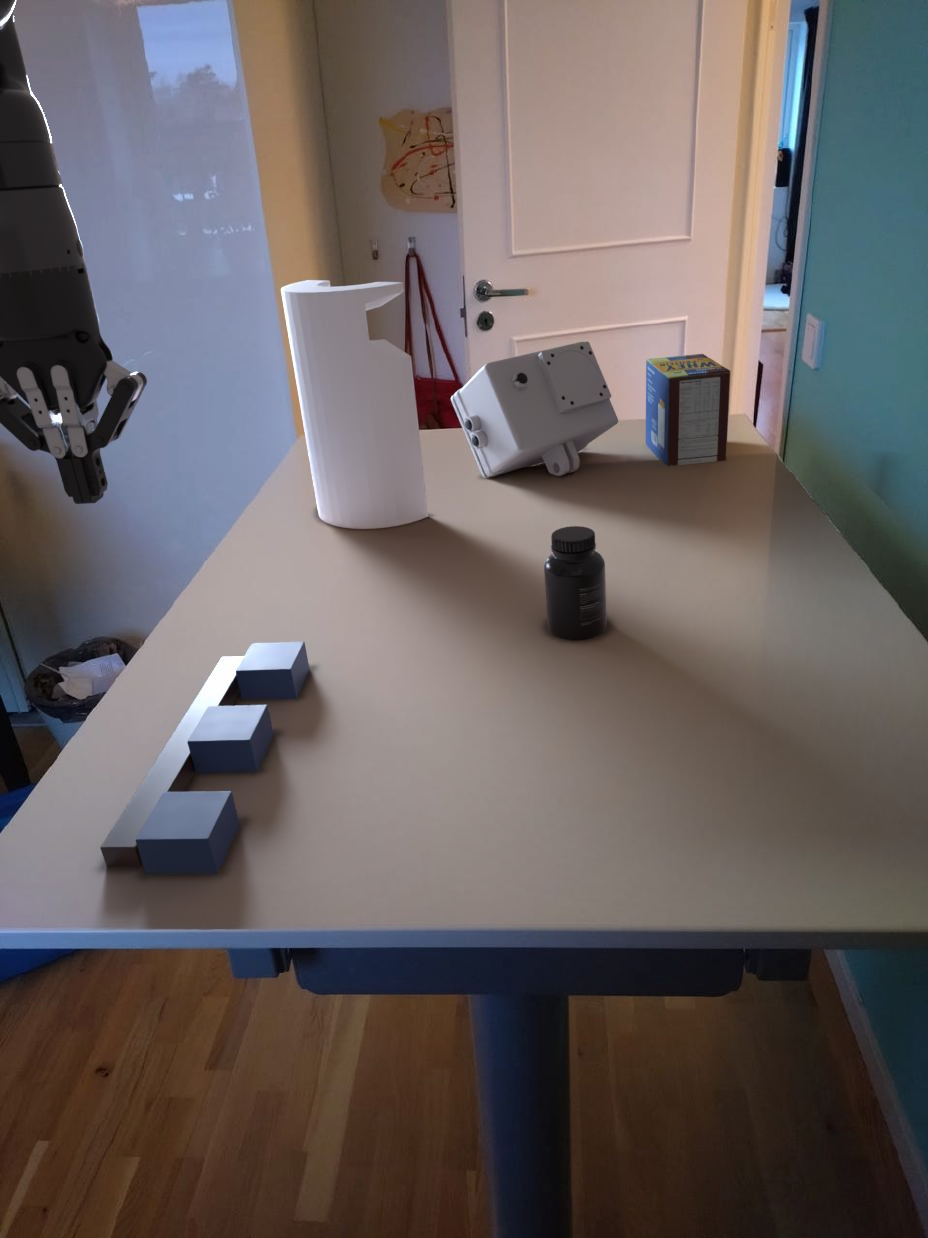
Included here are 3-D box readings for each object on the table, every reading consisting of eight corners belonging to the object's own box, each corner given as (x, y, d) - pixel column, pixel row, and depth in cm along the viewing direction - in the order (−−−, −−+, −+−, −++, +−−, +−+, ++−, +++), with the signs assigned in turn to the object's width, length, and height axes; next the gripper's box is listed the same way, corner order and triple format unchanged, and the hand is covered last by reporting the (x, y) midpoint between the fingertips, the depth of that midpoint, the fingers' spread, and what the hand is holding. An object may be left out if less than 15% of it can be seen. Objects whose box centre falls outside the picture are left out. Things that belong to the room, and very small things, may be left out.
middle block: (196, 776, 84) (186, 741, 82) (216, 739, 89) (208, 706, 88) (258, 775, 84) (249, 740, 82) (275, 738, 89) (267, 704, 87)
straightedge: (107, 871, 73) (99, 847, 72) (226, 676, 101) (221, 656, 100) (142, 871, 73) (135, 847, 72) (251, 675, 101) (247, 655, 99)
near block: (147, 878, 72) (134, 839, 71) (174, 828, 78) (163, 791, 76) (218, 877, 72) (208, 839, 70) (241, 827, 77) (231, 790, 75)
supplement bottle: (605, 615, 106) (603, 520, 101) (608, 643, 100) (607, 544, 95) (547, 617, 107) (542, 523, 102) (546, 645, 101) (542, 546, 96)
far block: (242, 703, 95) (235, 670, 94) (258, 674, 101) (251, 643, 99) (297, 701, 95) (290, 669, 93) (310, 672, 100) (304, 641, 98)
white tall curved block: (344, 495, 154) (432, 517, 141) (292, 516, 146) (379, 541, 133) (311, 279, 138) (407, 281, 125) (251, 290, 131) (346, 294, 117)
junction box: (527, 478, 140) (474, 349, 141) (484, 508, 154) (436, 390, 154) (638, 443, 152) (589, 324, 152) (590, 474, 165) (544, 364, 166)
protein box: (700, 438, 166) (703, 352, 159) (726, 462, 152) (732, 370, 145) (644, 443, 166) (645, 358, 159) (665, 468, 152) (667, 376, 145)
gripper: (-97, 274, 59) (-17, 521, 67) (94, 261, 58) (153, 514, 66) (-33, 263, 66) (33, 488, 74) (139, 251, 65) (188, 481, 73)
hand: (90, 500), depth 70 cm, fingers closed
